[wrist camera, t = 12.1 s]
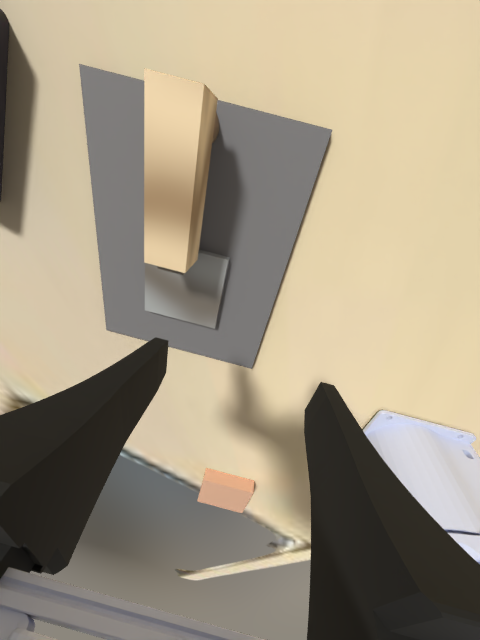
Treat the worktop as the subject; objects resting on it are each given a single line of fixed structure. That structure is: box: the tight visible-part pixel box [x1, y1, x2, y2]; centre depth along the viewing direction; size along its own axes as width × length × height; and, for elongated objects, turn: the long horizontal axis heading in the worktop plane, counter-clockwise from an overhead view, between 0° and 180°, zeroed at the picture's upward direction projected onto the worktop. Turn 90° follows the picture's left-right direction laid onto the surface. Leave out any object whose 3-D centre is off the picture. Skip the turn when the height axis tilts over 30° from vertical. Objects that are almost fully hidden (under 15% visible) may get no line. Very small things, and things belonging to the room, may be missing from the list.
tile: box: [197, 468, 254, 513], centre depth 36 cm, size 7×2×7 cm
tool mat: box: [79, 64, 332, 369], centre depth 18 cm, size 14×18×1 cm
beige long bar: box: [144, 68, 230, 329], centre depth 15 cm, size 14×6×4 cm, turn 167°
